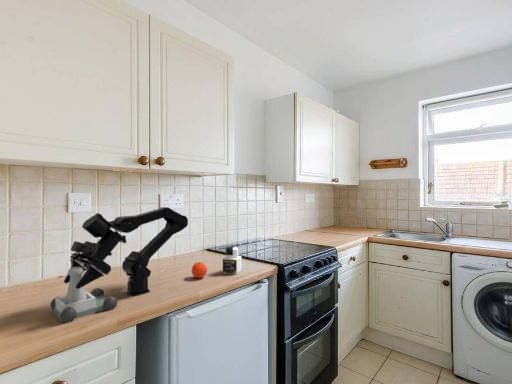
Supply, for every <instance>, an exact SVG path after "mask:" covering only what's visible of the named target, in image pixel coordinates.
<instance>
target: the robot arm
mask: <svg viewBox="0 0 512 384" xmlns="http://www.w3.org/2000/svg"><path fill="white" fill-rule="evenodd" d="M160 219H163V221H165V222H166V223H165V225H164V227H163V229H161V231H159V232H158V233H157V235H155V236H154V237H153V238H152V239H151V240H150V241H149V242H148V243H147V244H146V245H145V246H144V247H143V248H142V249H141V250H139V251H134V250H132V251H131V252H130V253H129V254H128V255H127V256H126V257H124V260H123V261H122V264H121V269H122V270H123V272H125V274H126V276H127V277H128V281H127V291H126V293H128V294H130V295H131V296H138V295H142V294H146V293H150V292H151V290H150V289H149V282H148V281H149V279H148V278H150V276H151V274H152V270H151V269H149V268H148V267H147V266H148V265H149V261H150V259H151V258H152V257H153V256H154V255H155V254H156V253H157V252H158V251H159V249H161V248H162V247H163V246H164V245H165V244H166V243H167V241H169V240H170V239H171V238H172V236H174V235H175V234H177V233H179V232H182V231H183V230H185V228H187V227H188V225H189V219H188V217H187V216H186V215H183V214H181V213H179V212H177V211H175V210H173V209H171V208H170V207H166V206H162V207H159V208H157V209H153V210H149V211H146V212H143V213H140V214H134V215H124V216H117V217H115V218H114V220H112V221H108V220H107V219H106V218H105V217H104V216H103V215H102V214H101V213H98V212H97V213H95V214H94V215H92V216H90V217H89V218H87V219H86V220H84V222H83V224H82V225H81V227H82V229H83V230H85V231H86V232H87V233H89V234H90V235H91V236H92V237H94V239H97V238H99V239H98V241H97V242H91V241H88V240H86V241H84V242H80V241H74V242H73V243H72V246H71V248H70V251H71V252H73V253H72V254H71V255H70V257H69V258H70V259H69V261H70V265H71V266H70V268H73V267H83V269H84V273H83V274H82V275H81V276H82V278H81V279H80V281H79V282H78V284H77V285H76V288H77V289H79V288H81V287H83V286H84V287H85V286H86V285H88V284H90V283H92V282H93V281H95V280H98V279H99V278H101V277H104V276H105V275H106V276H108V275H109V274H110V272H112V271H111V270H112V266H111V265H109V264H108V263H107V262H106V261H105V260H106V258H107V257H111V256H112V255H113V253H112V252H113V250H114V249H115V248H116V246H117V245H118V244H119V243H122V244H127V235H123V233H126V234H127V233H128V234H129V233H132V232H133V231H135V230H137V229H138V228H139V227H141V226H142V225H145V224H148V223H151V222H154V221H157V220H160ZM121 233H122V234H121ZM69 281H70V276H69V275H68V273H67V274H66V276H65V279H64V281H63V283H65V284H69Z"/></svg>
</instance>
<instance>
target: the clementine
mask: <svg viewBox="0 0 512 384" xmlns="http://www.w3.org/2000/svg"><path fill="white" fill-rule="evenodd" d="M207 272H208V268H207V265H206V264H205V263H204V262H203V261H201V262H200V261H197V262H196V261H195V262H194V264H193V265H192V267H191V274H192V276H194V277H195V278H196V279H201V278H204V277H205V276H206V275H207Z"/></svg>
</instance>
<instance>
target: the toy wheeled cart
mask: <svg viewBox="0 0 512 384" xmlns="http://www.w3.org/2000/svg"><path fill="white" fill-rule="evenodd" d="M85 292H86V297H87V299H86V300H82V301H78V302H74V303H70V304H66V298H67V295H64V296H58V297H55V298H53V299H52V300H51V301H50V304H49V305H50V309H52V310H53V314H54V315H56V317H57V318H58V319H59V321H60V322H61V323H70V322H73V321H74V320H75V319H78V318H82V317H85V316H89V315H92V314H95V313H98V312H103V311H105V310H106V311H111V310H114V309H115V308H116V307H117V305H118V299H117V298H116V297H114V296H108V297H107V296H105V291H104V290H103V289H102V288H100V287H95V288H93V289H92V291H91V292H89V291H87V290H85Z"/></svg>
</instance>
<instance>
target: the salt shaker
mask: <svg viewBox="0 0 512 384" xmlns="http://www.w3.org/2000/svg"><path fill="white" fill-rule="evenodd" d="M84 273H85V271H84V269H83V267H73V268H71V267H70V268H69V269H68V270H67V274H68V275H69V276H70V281H69V282H68V289H67V294H66V296H67V298H66V304H70V303H74V302H78V301H82V300H86V299H87V297H86V292H85V291H86V289H85V286H83V287H81V288H79V289H77V288H76V285H77V284H78V282H79V281H80V279H81V278H82V276H83V275H84Z"/></svg>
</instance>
